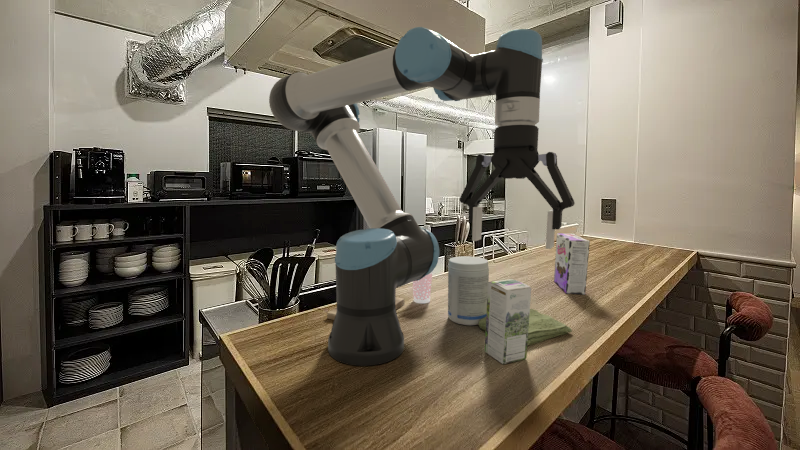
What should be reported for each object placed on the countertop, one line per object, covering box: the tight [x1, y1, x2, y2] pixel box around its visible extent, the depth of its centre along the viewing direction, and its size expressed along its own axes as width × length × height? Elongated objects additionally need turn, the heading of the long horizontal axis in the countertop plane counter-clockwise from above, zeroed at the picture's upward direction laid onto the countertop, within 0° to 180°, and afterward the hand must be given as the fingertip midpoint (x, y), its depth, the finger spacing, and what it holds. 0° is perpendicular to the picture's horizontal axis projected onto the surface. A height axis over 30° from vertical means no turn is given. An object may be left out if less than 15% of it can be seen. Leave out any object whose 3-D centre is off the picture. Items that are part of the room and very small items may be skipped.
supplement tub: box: [447, 255, 490, 326], centre depth 88 cm, size 10×10×15 cm
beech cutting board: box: [326, 296, 405, 321], centre depth 94 cm, size 18×12×2 cm, turn 153°
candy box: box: [553, 232, 591, 296], centre depth 115 cm, size 14×6×16 cm, turn 172°
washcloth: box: [477, 308, 573, 346], centre depth 83 cm, size 13×18×3 cm
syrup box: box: [484, 278, 532, 365], centre depth 70 cm, size 6×6×14 cm
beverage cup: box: [412, 270, 434, 304], centre depth 102 cm, size 6×6×14 cm
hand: (511, 243), depth 68 cm, fingers open, 13 cm apart
